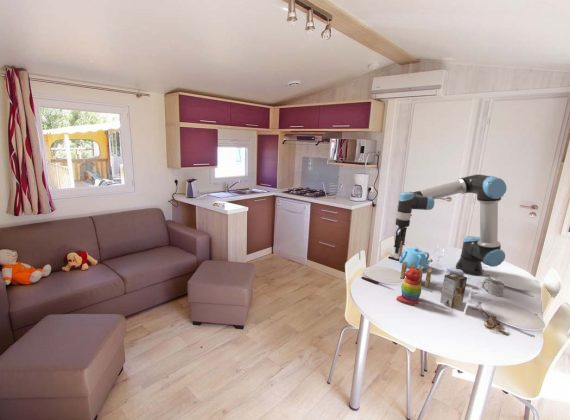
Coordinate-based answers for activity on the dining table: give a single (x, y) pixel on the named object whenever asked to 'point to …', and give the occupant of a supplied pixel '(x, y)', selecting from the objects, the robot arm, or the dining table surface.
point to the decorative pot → (414, 257)
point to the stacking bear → (411, 288)
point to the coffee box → (453, 290)
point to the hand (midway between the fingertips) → (397, 256)
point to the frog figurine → (495, 326)
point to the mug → (494, 287)
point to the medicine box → (454, 271)
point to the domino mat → (430, 288)
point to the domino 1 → (400, 249)
